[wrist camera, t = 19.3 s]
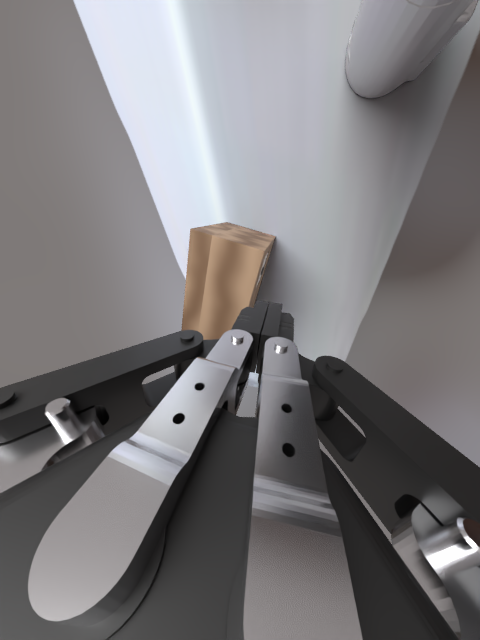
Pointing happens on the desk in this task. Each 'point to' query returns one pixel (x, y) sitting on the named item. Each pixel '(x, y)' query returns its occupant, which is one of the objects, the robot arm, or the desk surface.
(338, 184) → the desk surface
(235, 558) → the robot arm
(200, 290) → the brown piece
